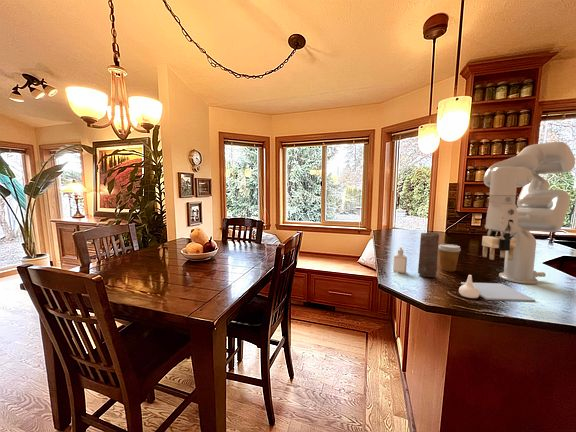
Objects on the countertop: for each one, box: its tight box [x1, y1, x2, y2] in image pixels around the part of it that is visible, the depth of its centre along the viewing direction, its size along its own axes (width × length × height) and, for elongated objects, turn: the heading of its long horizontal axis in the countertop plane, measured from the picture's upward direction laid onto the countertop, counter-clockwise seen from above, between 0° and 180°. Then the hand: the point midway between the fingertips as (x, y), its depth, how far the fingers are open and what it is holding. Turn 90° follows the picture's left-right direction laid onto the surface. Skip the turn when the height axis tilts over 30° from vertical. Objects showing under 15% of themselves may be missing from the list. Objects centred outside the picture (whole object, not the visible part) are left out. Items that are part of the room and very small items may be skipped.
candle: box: [417, 232, 440, 278], centre depth 114 cm, size 8×7×20 cm
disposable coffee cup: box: [438, 243, 462, 272], centre depth 125 cm, size 10×10×12 cm
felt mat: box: [460, 281, 536, 302], centre depth 97 cm, size 16×16×1 cm
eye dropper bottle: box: [392, 246, 408, 274], centre depth 121 cm, size 4×6×12 cm
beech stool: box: [481, 235, 516, 261], centre depth 96 cm, size 8×6×8 cm
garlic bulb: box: [458, 274, 480, 299], centre depth 94 cm, size 6×6×8 cm
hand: (497, 248), depth 96 cm, fingers closed on beech stool, 5 cm apart
